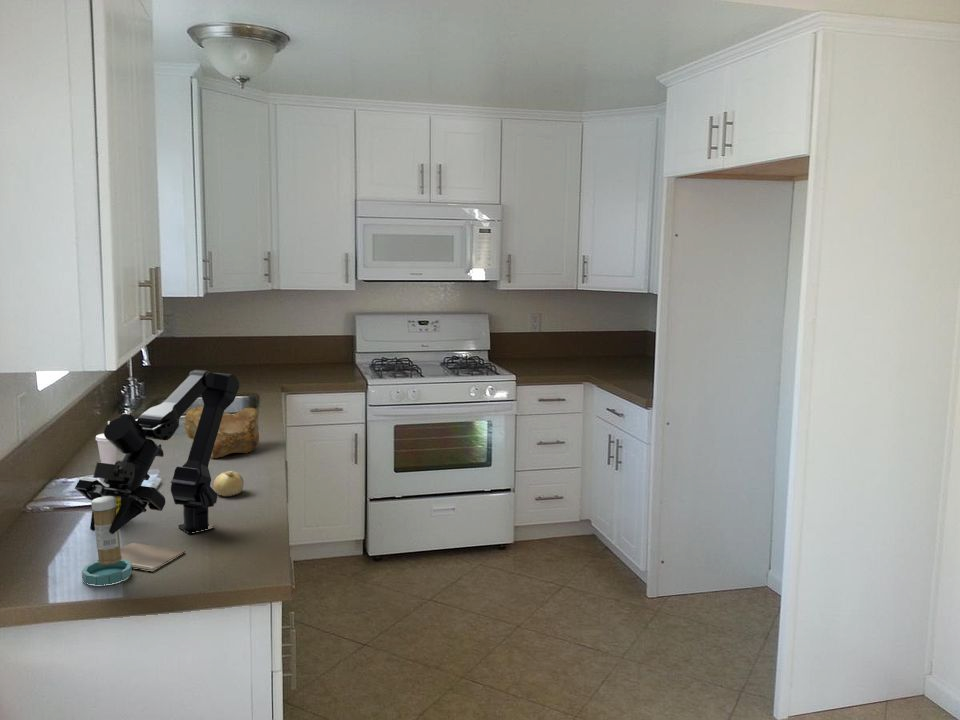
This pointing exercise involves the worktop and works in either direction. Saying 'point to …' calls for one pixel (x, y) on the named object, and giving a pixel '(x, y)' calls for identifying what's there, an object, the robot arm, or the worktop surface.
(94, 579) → the bowl
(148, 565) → the board
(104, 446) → the smoothie
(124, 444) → the robot arm
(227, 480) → the onion
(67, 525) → the worktop surface
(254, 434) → the rough brown rock
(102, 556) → the sprinkles bottle
